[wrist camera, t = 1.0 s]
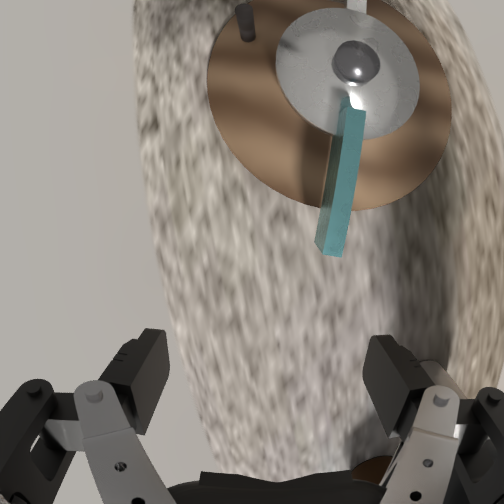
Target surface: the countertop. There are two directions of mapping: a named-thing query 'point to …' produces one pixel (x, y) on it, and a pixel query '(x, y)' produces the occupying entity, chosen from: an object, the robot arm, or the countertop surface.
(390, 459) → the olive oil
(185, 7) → the countertop surface
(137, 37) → the countertop surface
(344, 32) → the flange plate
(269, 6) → the base plate
